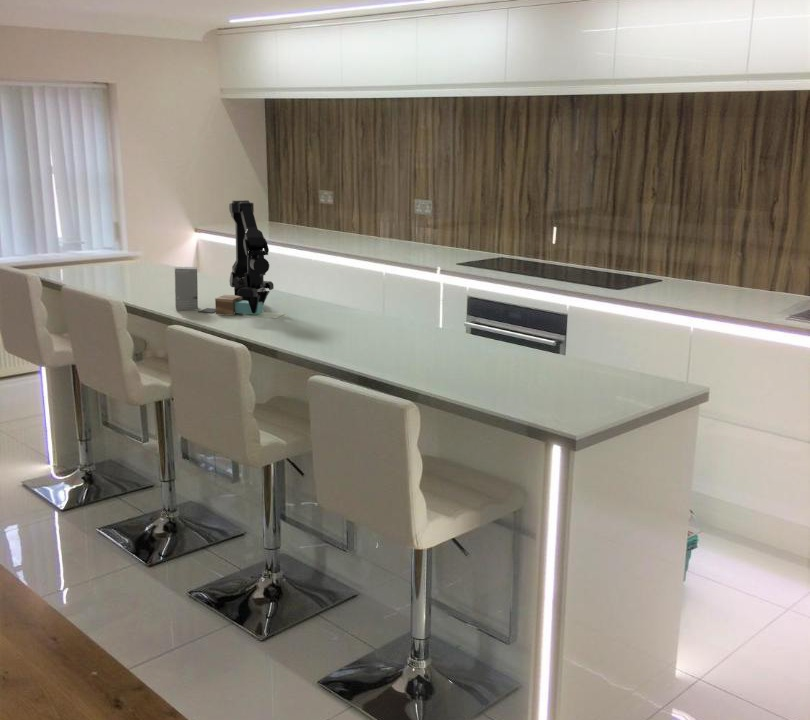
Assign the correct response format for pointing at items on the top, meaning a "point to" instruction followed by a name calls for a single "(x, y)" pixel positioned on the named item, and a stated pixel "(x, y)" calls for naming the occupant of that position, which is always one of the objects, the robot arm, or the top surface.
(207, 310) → the mat
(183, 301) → the skincare box
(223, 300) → the tunnel
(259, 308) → the bar
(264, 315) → the pad
